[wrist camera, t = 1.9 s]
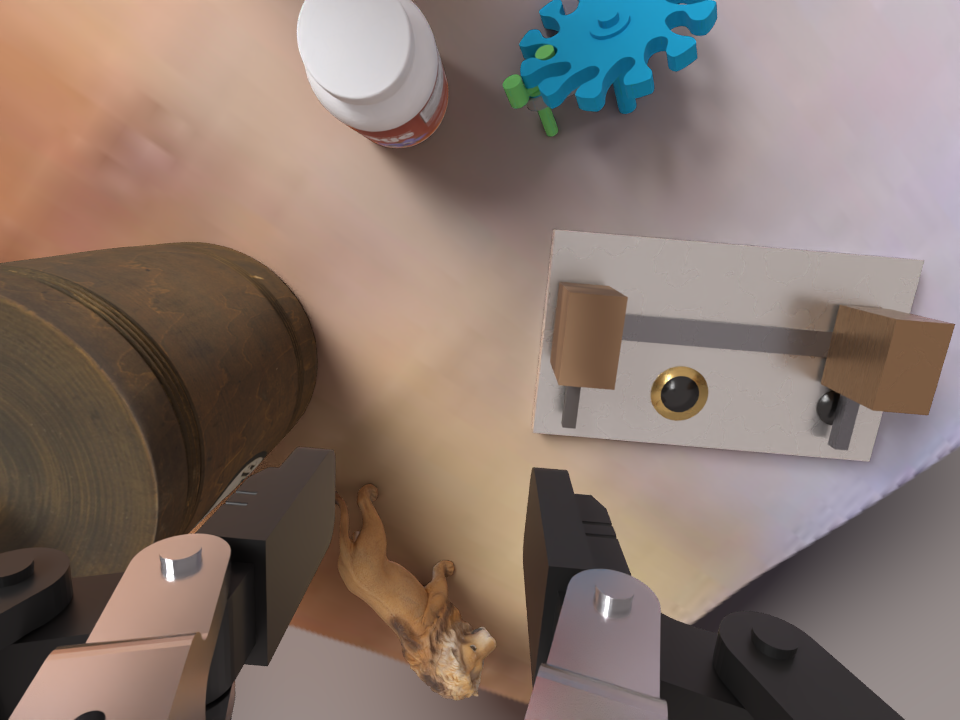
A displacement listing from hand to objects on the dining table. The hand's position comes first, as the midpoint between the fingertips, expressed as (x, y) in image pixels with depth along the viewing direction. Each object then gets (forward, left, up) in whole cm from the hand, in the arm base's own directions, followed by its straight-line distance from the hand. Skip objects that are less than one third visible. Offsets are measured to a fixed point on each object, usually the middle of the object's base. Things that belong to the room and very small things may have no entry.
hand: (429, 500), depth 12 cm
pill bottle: (-5, +12, -25) cm, 29 cm away
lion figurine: (-3, -18, -26) cm, 31 cm away
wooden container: (-17, -5, -26) cm, 31 cm away
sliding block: (+7, -2, -23) cm, 24 cm away
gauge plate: (+16, -1, -25) cm, 30 cm away
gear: (+6, +15, -26) cm, 30 cm away
